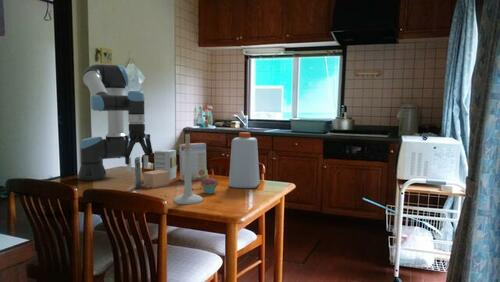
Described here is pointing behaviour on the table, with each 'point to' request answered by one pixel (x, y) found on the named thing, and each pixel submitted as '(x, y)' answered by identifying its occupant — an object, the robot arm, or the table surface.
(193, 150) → the cracker box
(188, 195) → the candlestick
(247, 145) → the plastic bottle
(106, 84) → the robot arm
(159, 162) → the supplement box
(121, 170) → the table surface
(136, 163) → the t key
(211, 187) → the cupcake
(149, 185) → the tan rectangular block
